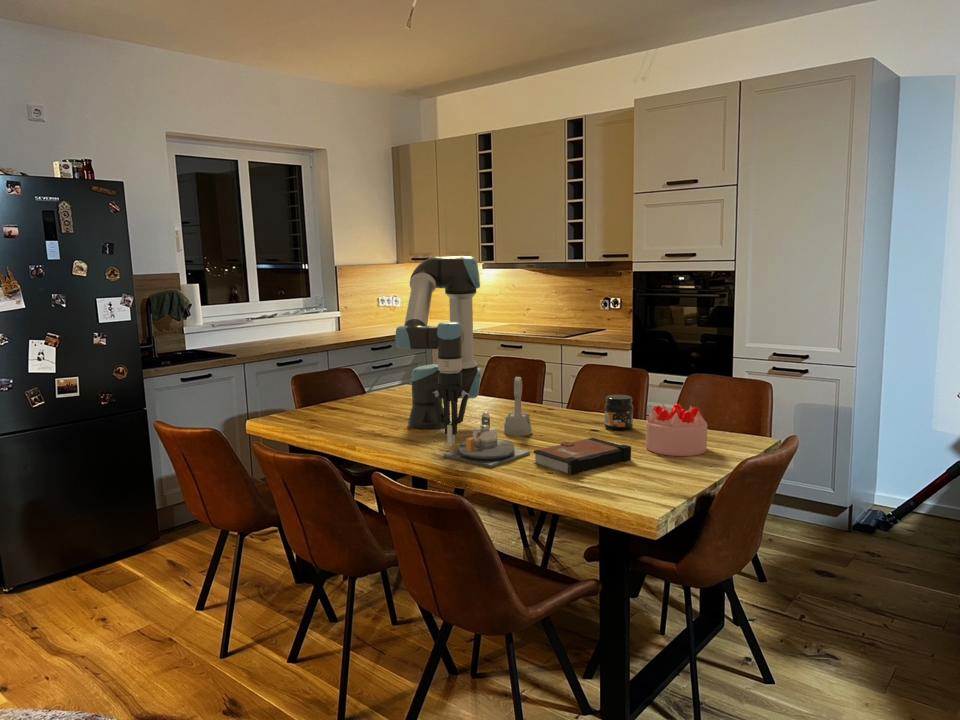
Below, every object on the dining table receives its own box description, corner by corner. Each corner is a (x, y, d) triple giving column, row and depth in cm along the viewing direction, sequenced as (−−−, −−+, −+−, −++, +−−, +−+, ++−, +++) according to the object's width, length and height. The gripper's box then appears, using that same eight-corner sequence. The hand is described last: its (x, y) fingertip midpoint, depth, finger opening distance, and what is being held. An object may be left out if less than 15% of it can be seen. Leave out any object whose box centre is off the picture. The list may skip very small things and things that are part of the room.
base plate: (443, 456, 236) (443, 454, 236) (483, 444, 251) (483, 441, 251) (490, 468, 223) (490, 464, 223) (529, 454, 238) (529, 451, 238)
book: (591, 450, 244) (591, 435, 243) (630, 461, 230) (631, 446, 229) (531, 464, 228) (531, 448, 228) (570, 477, 215) (570, 460, 214)
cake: (633, 447, 245) (634, 406, 243) (672, 438, 257) (673, 399, 255) (680, 460, 229) (681, 416, 227) (719, 450, 241) (721, 408, 239)
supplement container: (600, 429, 271) (600, 398, 269) (609, 424, 280) (609, 393, 278) (628, 432, 266) (628, 400, 264) (636, 426, 275) (636, 395, 273)
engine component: (502, 435, 264) (529, 436, 262) (501, 379, 262) (529, 380, 260) (507, 428, 275) (533, 429, 273) (506, 374, 272) (533, 375, 270)
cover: (468, 446, 236) (467, 426, 235) (483, 441, 242) (482, 422, 242) (487, 449, 231) (486, 429, 230) (502, 444, 237) (502, 424, 237)
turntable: (483, 442, 249) (483, 424, 248) (525, 450, 238) (525, 432, 237) (447, 452, 236) (447, 434, 235) (490, 462, 224) (490, 443, 223)
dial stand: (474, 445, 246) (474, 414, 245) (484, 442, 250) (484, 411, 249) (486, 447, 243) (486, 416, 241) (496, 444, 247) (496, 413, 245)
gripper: (426, 372, 227) (427, 445, 231) (465, 374, 223) (466, 448, 227) (435, 368, 235) (436, 440, 238) (473, 370, 230) (474, 442, 234)
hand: (451, 444), depth 232 cm, fingers closed
